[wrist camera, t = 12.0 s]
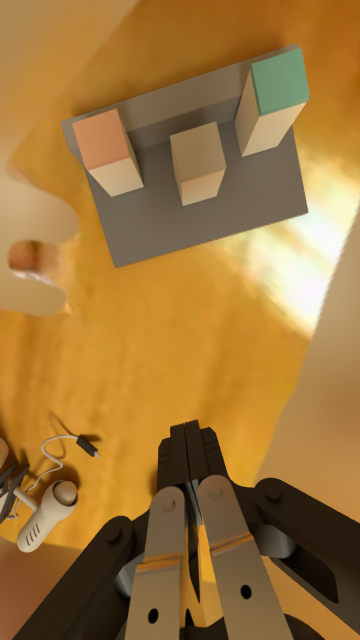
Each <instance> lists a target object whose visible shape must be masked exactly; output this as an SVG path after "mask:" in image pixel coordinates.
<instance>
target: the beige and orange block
mask: <svg viewBox="0 0 360 640" xmlns="http://www.w3.org/2000/svg"><path fill="white" fill-rule="evenodd" d="M72 126H73V129H74V132H75V136H76V139H77V142H78V145H79V149H80V152H81V155H82V159H83V162H84V165H85V168H86V169H87V170H88V172H89V173H90V174H91V175H92V176H93V177H94V178H95V179H96V180H97V182H98V183H99V184H100V185H101V186H102V187H103V188H104V189H105V190H106V192H107V193H108V194H109V195H110V196H111V197H113V196H116V195H119V194H123V193H126V192H129V191H133V190H136V189H139V188H142V187H144V185H143V181H142V177H141V174H140V170H139V166H138V163H137V159H136V156H135V153H134V150H133V148H132V145H131V143H130V140H129V138H128V135H127V133H126V131H125V128H124V126H123V123H122V121H121V118H120V116H119V113H118V111H117V109H114V110H110V111H107V112H104V113H101V114H98V115H95V116H92V117H89V118H86V119H83V120H80V121H77V122H74V123H72Z"/></svg>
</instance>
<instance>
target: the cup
mask: <svg viewBox="0 0 360 640" xmlns="http://www.w3.org/2000/svg"><path fill="white" fill-rule="evenodd" d="M8 453H9V449H8V445H7V443H6V442H5V441H4V440H3V439H2V438H1V437H0V470H1V468H2V466H3V464H4V462H5V460H6V458H7V456H8Z"/></svg>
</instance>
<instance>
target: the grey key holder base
mask: <svg viewBox="0 0 360 640" xmlns="http://www.w3.org/2000/svg"><path fill="white" fill-rule="evenodd" d="M296 49H298V44H297V43H295V44H292V45H289V46H286V47H283V48H280V49H277V50H274V51H271V52H268V53H265V54H262V55H259V56H256V57H253V58H250V59H247V60H244V61H241V62H238V63H235V64H232V65H229V66H226V67H223V68H220V69H217V70H214V71H211V72H208V73H205V74H202V75H199V76H196V77H193V78H190V79H187V80H184V81H181V82H178V83H175V84H172V85H169V86H166V87H163V88H160V89H157V90H154V91H151V92H148V93H145V94H142V95H139V96H136V97H133V98H130V99H127V100H124V101H121V102H118V103H115V104H112V105H109V106H106V107H103V108H100V109H97V110H94V111H91V112H88V113H85V114H82V115H79V116H76V117H73V118H70V119H67V120H64V121H61V125H62V129H63V132H64V135H65V138H66V141H67V145H68V148H69V151H70V152H71V153H72V154H73V155H74V156H75V157H76V159H77V160H78V161H79V162H80V163H81V164H82V165H83V166H84V168H85V165H84V162H83V159H82V155H81V152H80V149H79V145H78V142H77V139H76V136H75V132H74V129H73V126H72V123H74V122H77V121H80V120H83V119H86V118H89V117H92V116H95V115H98V114H101V113H104V112H107V111H110V110H114V109H117V111H118V113H119V116H120V118H121V121H122V123H123V126H124V128H125V131H126V133H127V135H128V138H129V140H130V143H131V145H132V148H133V150H134V153H135V156H136V159H137V163H138V166H139V170H140V174H141V177H142V181H143V185H144V187H142V188H139V189H136V190H133V191H129V192H126V193H123V194H119V195H116V196H113V197H111V196H110V195H109V194H108V193H107V192H106V190H105V189H104V188H103V187H102V186H101V185H100V184H99V183H98V182H97V180H96V179H95V178H94V177H93V176H92V175H91V174H90V173H89V172H88V170H87V169H86V168H85V172H86V175H87V178H88V181H89V185H90V188H91V191H92V194H93V198H94V201H95V204H96V208H97V211H98V214H99V217H100V221H101V224H102V227H103V230H104V234H105V237H106V240H107V244H108V247H109V250H110V253H111V257H112V260H113V263H114V267H115V268H119V267H123V266H126V265H130V264H133V263H137V262H140V261H144V260H147V259H151V258H154V257H158V256H161V255H165V254H168V253H172V252H175V251H179V250H182V249H186V248H189V247H193V246H196V245H200V244H203V243H207V242H210V241H214V240H217V239H221V238H224V237H228V236H231V235H235V234H238V233H242V232H245V231H249V230H252V229H256V228H259V227H263V226H266V225H270V224H273V223H277V222H280V221H284V220H287V219H291V218H294V217H298V216H301V215H305V214H307V213H308V208H307V203H306V198H305V192H304V187H303V182H302V176H301V171H300V166H299V160H298V155H297V150H296V144H295V139H294V134H293V128H292V125H291V126H290V128H289V129H288V131H287V132H286V134H285V135H284V137H283V138H282V140H281V141H280V143H279V144H278V146H277V147H274V148H270V149H267V150H264V151H261V152H257V153H254V154H251V155H248V156H244V157H241V152H240V147H239V143H238V138H237V134H236V129H235V124H234V121H235V118H236V115H237V111H238V108H239V105H240V101H241V98H242V94H243V91H244V88H245V84H246V81H247V78H248V74H249V71H250V67H251V64H253V63H256V62H259V61H262V60H266V59H269V58H272V57H275V56H278V55H281V54H284V53H287V52H290V51H293V50H296ZM215 121H216V123H217V128H218V132H219V136H220V141H221V145H222V149H223V154H224V158H225V163H226V169H225V172H224V175H223V178H222V181H221V184H220V187H219V190H218V193H217V196H216V197H212V198H209V199H205V200H202V201H199V202H195V203H192V204H189V205H185V206H183V205H182V202H181V198H180V194H179V190H178V186H177V182H176V178H175V174H174V167H173V158H172V150H171V141H170V136H171V135H174V134H177V133H180V132H184V131H187V130H190V129H193V128H196V127H199V126H202V125H206V124H209V123H212V122H215Z"/></svg>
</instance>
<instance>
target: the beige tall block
mask: <svg viewBox="0 0 360 640" xmlns="http://www.w3.org/2000/svg"><path fill="white" fill-rule="evenodd" d="M170 141H171V150H172V158H173V167H174V174H175V178H176V182H177V186H178V190H179V194H180V198H181V202H182V205H183V206H185V205H189V204H192V203H195V202H199V201H202V200H205V199H209V198H212V197H216V196H217V193H218V190H219V187H220V184H221V181H222V178H223V175H224V172H225V169H226V163H225V158H224V154H223V149H222V145H221V141H220V136H219V132H218V128H217V123H216V121H215V122H212V123H209V124H206V125H202V126H199V127H196V128H193V129H190V130H187V131H184V132H180V133H177V134H174V135H171V136H170Z"/></svg>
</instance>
